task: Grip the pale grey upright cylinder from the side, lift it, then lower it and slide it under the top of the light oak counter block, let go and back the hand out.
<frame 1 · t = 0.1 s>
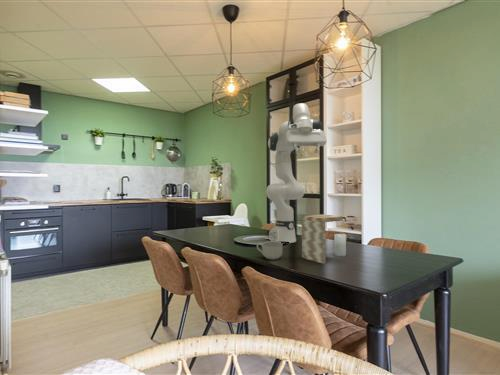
hand: (307, 152, 149), 54 cm above the table, tool tilted 30°, fingers open, 8 cm apart
pale grey upright cylinder: (340, 254, 166), on the table
teacup: (269, 258, 161), on the table
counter: (321, 258, 158), on the table
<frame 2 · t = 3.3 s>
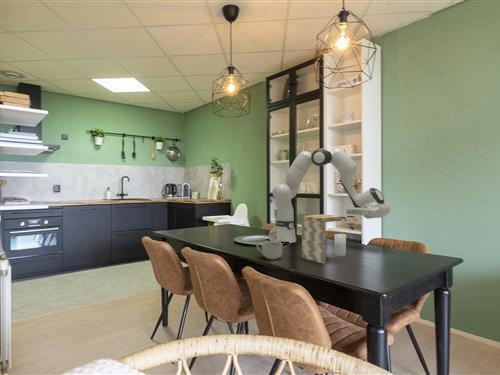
hand: (353, 212, 172), 22 cm above the table, tool horizontal, fingers open, 8 cm apart
nothing on the table moved.
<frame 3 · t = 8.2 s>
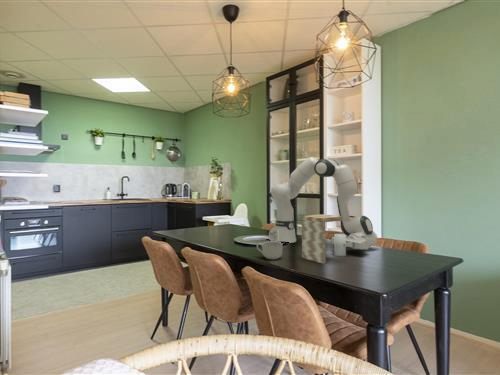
hand: (338, 244, 165), 6 cm above the table, tool horizontal, fingers closed on pale grey upright cylinder, 6 cm apart
pale grey upright cylinder: (340, 254, 166), on the table, touching gripper
everything else where it was.
when the fingers open (7 cm above the table, at t = 12.5 s): pale grey upright cylinder stays where it is, on the table.
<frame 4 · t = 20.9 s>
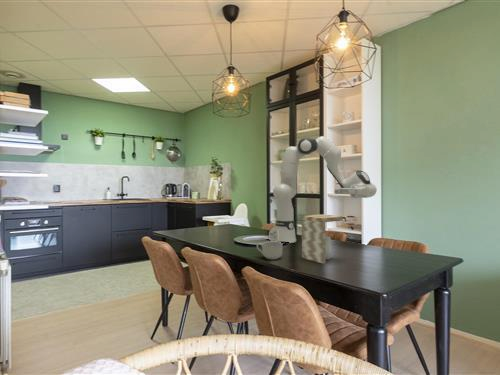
hand: (341, 191, 179), 34 cm above the table, tool horizontal, fingers open, 8 cm apart
pale grey upright cylinder: (324, 258, 159), on the table
everything else where it was.
at the end: pale grey upright cylinder inside the target area (0.5 cm from its centre), on the table; pale grey upright cylinder tilted 0°; the gripper is holding nothing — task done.
